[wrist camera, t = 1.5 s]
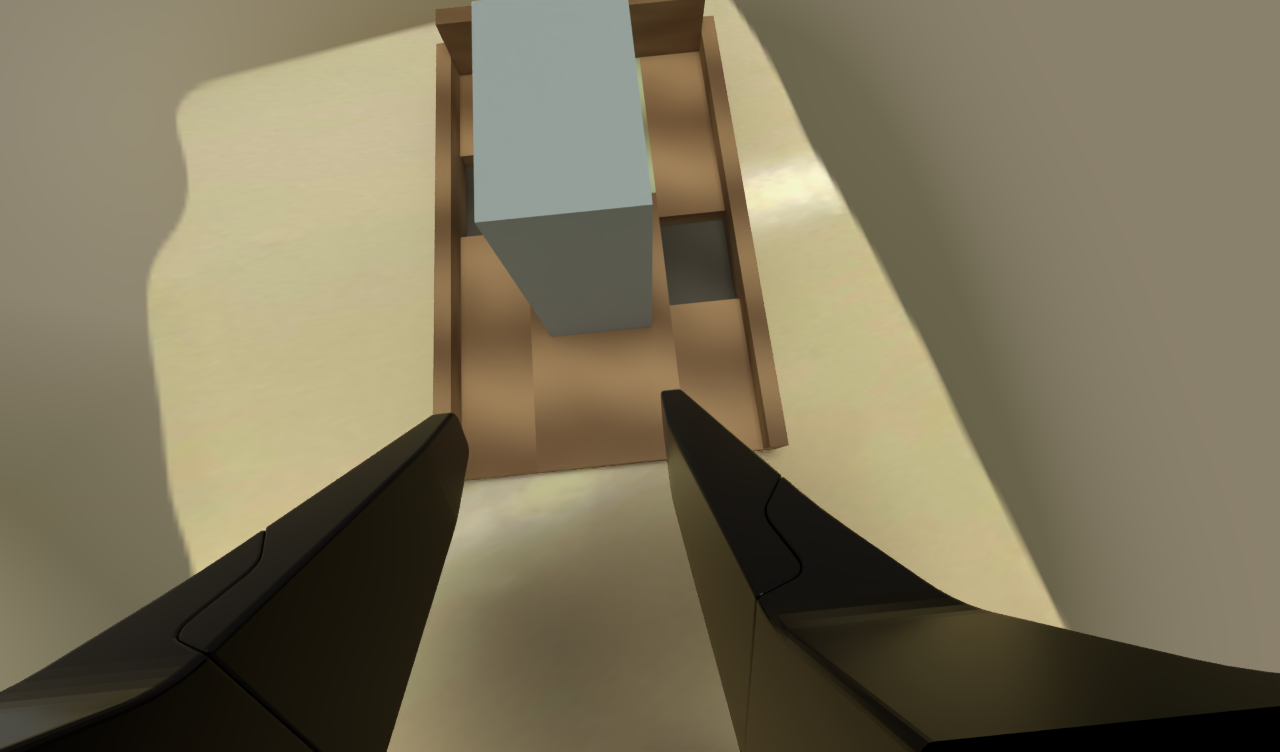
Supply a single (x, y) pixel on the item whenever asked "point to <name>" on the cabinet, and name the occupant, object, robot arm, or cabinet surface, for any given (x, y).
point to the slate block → (563, 159)
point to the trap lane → (681, 281)
